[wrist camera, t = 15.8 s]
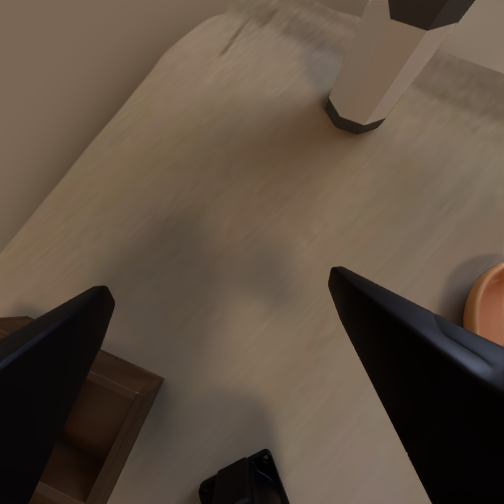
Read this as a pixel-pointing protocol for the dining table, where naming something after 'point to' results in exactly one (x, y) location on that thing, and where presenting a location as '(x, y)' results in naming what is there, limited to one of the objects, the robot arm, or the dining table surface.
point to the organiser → (95, 429)
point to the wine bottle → (388, 57)
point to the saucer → (487, 306)
